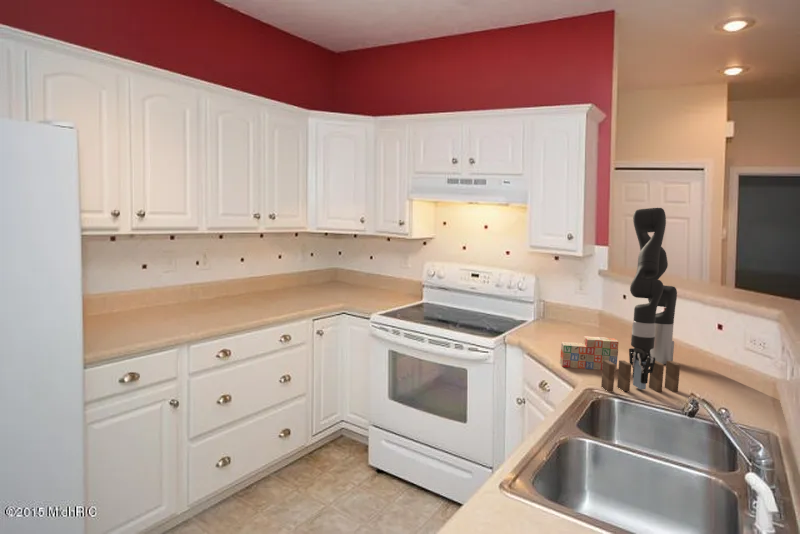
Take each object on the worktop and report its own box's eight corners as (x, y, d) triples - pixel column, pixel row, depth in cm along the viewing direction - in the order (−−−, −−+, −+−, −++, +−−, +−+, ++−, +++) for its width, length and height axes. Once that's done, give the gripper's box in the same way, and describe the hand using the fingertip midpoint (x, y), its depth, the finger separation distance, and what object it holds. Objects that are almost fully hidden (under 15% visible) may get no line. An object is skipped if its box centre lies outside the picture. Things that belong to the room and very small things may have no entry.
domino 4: (669, 387, 194) (671, 360, 193) (677, 392, 189) (680, 364, 188) (664, 387, 194) (666, 360, 193) (672, 392, 189) (674, 364, 188)
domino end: (606, 387, 192) (608, 360, 191) (613, 391, 187) (615, 364, 186) (601, 387, 192) (603, 360, 191) (607, 391, 187) (609, 364, 186)
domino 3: (654, 387, 194) (656, 360, 193) (661, 392, 189) (664, 364, 188) (648, 387, 194) (650, 360, 193) (656, 392, 189) (658, 364, 188)
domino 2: (638, 384, 193) (640, 358, 192) (645, 389, 188) (647, 361, 187) (632, 384, 193) (634, 358, 192) (640, 389, 188) (642, 361, 187)
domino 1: (622, 387, 193) (624, 360, 192) (629, 391, 188) (631, 364, 187) (617, 387, 193) (619, 360, 192) (623, 391, 188) (626, 364, 187)
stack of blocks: (562, 367, 217) (563, 337, 216) (559, 363, 223) (561, 334, 222) (616, 371, 214) (618, 341, 212) (613, 366, 220) (615, 337, 219)
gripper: (664, 339, 182) (661, 387, 183) (642, 330, 196) (639, 374, 198) (643, 338, 181) (640, 387, 183) (623, 329, 195) (619, 374, 197)
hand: (639, 380), depth 190 cm, fingers closed on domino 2, 5 cm apart
